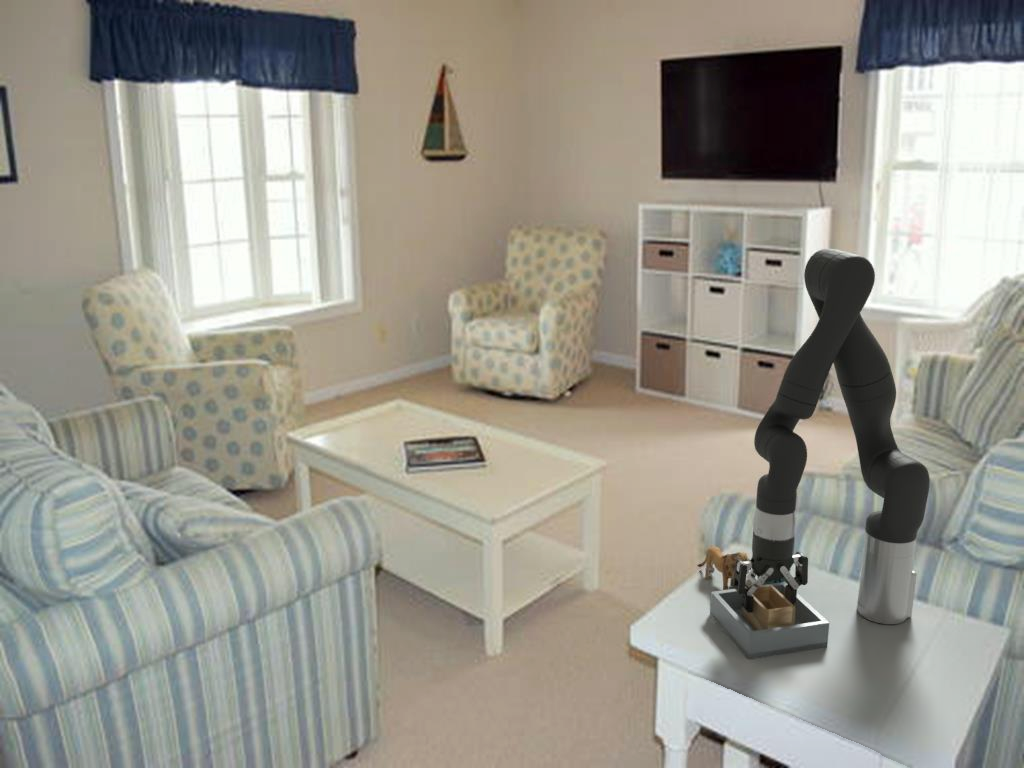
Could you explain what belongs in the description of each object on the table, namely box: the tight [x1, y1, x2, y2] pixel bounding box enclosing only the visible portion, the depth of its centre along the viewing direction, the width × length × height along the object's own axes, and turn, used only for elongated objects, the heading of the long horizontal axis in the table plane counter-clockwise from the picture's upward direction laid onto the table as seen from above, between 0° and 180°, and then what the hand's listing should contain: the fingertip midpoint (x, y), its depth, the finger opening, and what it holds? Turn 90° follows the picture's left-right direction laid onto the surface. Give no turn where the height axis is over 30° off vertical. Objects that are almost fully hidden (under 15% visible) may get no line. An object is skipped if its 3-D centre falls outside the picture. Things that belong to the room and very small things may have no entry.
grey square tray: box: [709, 582, 830, 660], centre depth 175 cm, size 16×16×5 cm
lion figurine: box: [696, 545, 752, 590], centre depth 193 cm, size 15×5×9 cm, turn 32°
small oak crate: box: [741, 584, 796, 631], centre depth 174 cm, size 6×9×6 cm, turn 13°
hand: (768, 607), depth 174 cm, fingers open, 8 cm apart
